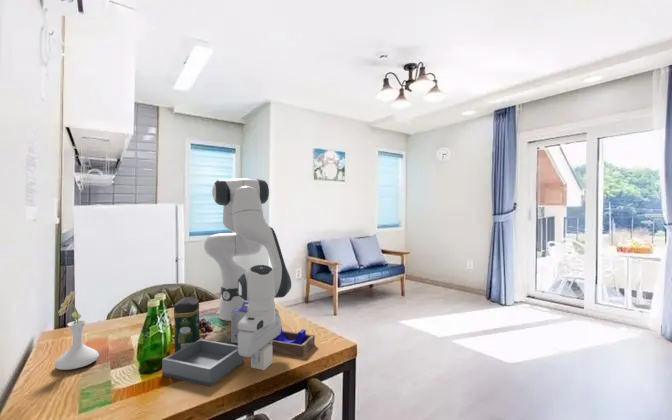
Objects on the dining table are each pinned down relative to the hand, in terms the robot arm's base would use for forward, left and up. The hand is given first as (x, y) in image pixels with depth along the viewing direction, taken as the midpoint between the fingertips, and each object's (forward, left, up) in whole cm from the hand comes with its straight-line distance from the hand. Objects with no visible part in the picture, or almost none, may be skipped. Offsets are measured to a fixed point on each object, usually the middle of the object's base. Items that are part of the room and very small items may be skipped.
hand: (261, 358), depth 106 cm
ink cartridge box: (-14, -16, -2) cm, 21 cm away
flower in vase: (+21, -56, -2) cm, 60 cm away
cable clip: (-16, +1, -2) cm, 17 cm away
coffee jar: (0, -31, -2) cm, 31 cm away
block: (0, 0, -2) cm, 2 cm away
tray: (+8, -16, -2) cm, 18 cm away
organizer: (-15, +1, -2) cm, 15 cm away
